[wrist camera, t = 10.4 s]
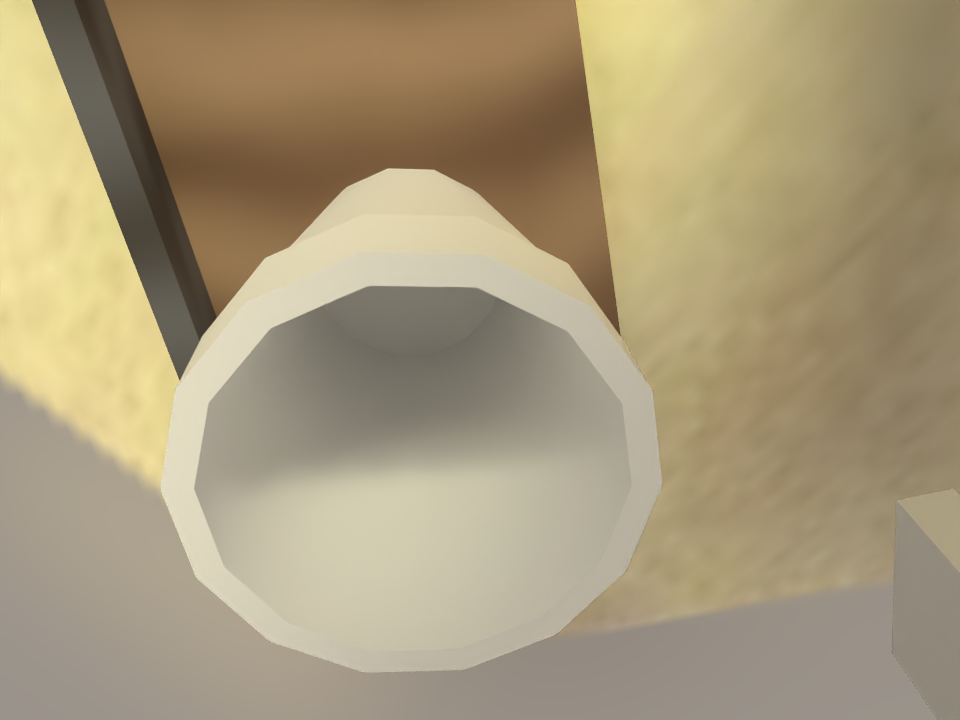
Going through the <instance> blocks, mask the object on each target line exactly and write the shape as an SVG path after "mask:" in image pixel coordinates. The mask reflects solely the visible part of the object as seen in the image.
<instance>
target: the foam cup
mask: <svg viewBox="0 0 960 720" xmlns="http://www.w3.org/2000/svg"><path fill="white" fill-rule="evenodd" d="M661 487H662V476H661V467H660V457H659V447H658V438H657V428H656V418H655V409H654V399H653V391H652V389H651V387H650V386H649V384H648V382H647V380H646V379H645V377H644V375H643V373H642V372H641V370H640V368H639V367H638V365H637V363H636V361H635V360H634V358H633V356H632V354H631V353H630V351H629V349H628V348H627V346H626V344H625V342H624V341H623V339H622V338H621V336H620V335H619V334H618V332H617V331H616V329H615V328H614V327H613V325H612V324H611V322H610V321H609V320H608V318H607V317H606V315H605V314H604V313H603V311H602V310H601V309H600V307H599V306H598V304H597V303H596V302H595V300H594V299H593V297H592V296H591V295H590V293H589V292H588V290H587V289H586V288H585V286H584V285H583V284H582V282H581V281H580V279H579V278H578V277H577V275H576V274H575V272H574V271H573V270H572V268H571V267H570V265H569V264H568V263H566V262H564V261H562V260H560V259H558V258H556V257H554V256H552V255H550V254H548V253H546V252H544V251H542V250H540V249H538V248H537V247H535V246H534V245H533V244H532V243H531V242H530V241H529V240H528V239H527V238H526V237H524V236H523V235H522V234H521V233H520V232H519V231H518V230H517V229H516V228H515V227H514V226H513V225H512V224H510V223H509V222H508V221H507V220H506V219H505V218H504V217H503V216H502V215H501V214H500V213H499V212H498V211H496V210H495V209H494V208H493V207H492V206H491V205H490V204H489V203H488V202H487V201H486V200H485V199H483V198H482V197H481V196H480V195H479V194H478V193H477V192H475V191H474V190H472V189H470V188H468V187H467V186H465V185H463V184H461V183H459V182H457V181H455V180H453V179H451V178H449V177H447V176H445V175H443V174H441V173H439V172H437V171H435V170H427V169H391V168H388V169H386V170H383V171H381V172H379V173H377V174H374V175H372V176H370V177H368V178H366V179H363V180H361V181H359V182H357V183H354V184H352V185H350V186H348V187H346V188H345V189H344V190H343V191H342V192H341V193H340V194H339V195H338V196H337V197H336V198H335V199H334V200H333V201H332V202H331V203H330V205H329V206H328V207H327V208H326V209H325V210H324V211H323V212H322V213H321V214H320V215H319V216H318V217H317V218H316V219H315V221H314V222H313V223H312V224H311V225H310V226H309V227H308V228H307V229H306V230H305V231H304V232H303V233H302V234H301V235H300V237H299V238H298V239H297V240H296V241H295V242H294V243H293V244H292V245H291V246H290V247H289V248H286V249H284V250H282V251H280V252H277V253H275V254H273V255H271V256H268V257H266V258H265V259H264V260H263V261H262V263H261V264H260V265H259V266H258V268H257V269H256V270H255V271H254V272H253V274H252V275H251V276H250V277H249V279H248V280H247V281H246V282H245V284H244V285H243V286H242V287H241V289H240V290H239V291H238V292H237V294H236V295H235V296H234V297H233V299H232V300H231V301H230V302H229V304H228V305H227V306H226V307H225V309H224V310H223V311H222V312H221V313H220V315H219V316H218V317H217V318H216V320H215V321H214V322H213V323H212V325H211V326H210V327H209V328H208V330H207V331H206V332H205V333H204V335H203V336H202V338H201V340H200V342H199V344H198V346H197V348H196V350H195V352H194V354H193V356H192V358H191V360H190V362H189V363H188V365H187V367H186V369H185V371H184V373H183V375H182V377H181V379H180V381H179V383H178V385H177V387H176V389H175V396H174V402H173V409H172V415H171V422H170V428H169V435H168V441H167V448H166V455H165V461H164V468H163V474H162V481H161V487H160V489H161V492H162V494H163V497H164V499H165V502H166V504H167V507H168V509H169V512H170V514H171V517H172V519H173V521H174V524H175V526H176V529H177V531H178V534H179V536H180V539H181V541H182V543H183V546H184V549H185V551H186V554H187V556H188V558H189V561H190V563H191V566H192V568H193V571H194V573H195V576H196V578H197V579H198V580H199V581H201V582H202V583H203V584H204V585H205V586H207V588H209V589H210V590H211V591H212V592H213V593H214V594H216V595H217V596H218V597H219V598H220V599H221V600H223V601H224V602H225V603H226V604H227V605H228V606H230V607H231V608H232V609H233V610H234V611H235V612H236V613H238V614H239V615H240V616H241V617H242V618H243V619H245V620H246V621H247V622H248V623H249V624H250V625H251V626H252V627H254V628H255V629H256V630H257V631H258V632H259V633H261V634H262V635H263V636H264V637H265V638H266V639H268V640H269V641H270V642H273V643H276V644H279V645H282V646H285V647H288V648H291V649H294V650H297V651H300V652H303V653H306V654H309V655H312V656H315V657H318V658H321V659H324V660H327V661H330V662H333V663H336V664H339V665H342V666H345V667H348V668H351V669H354V670H357V671H360V672H363V673H376V672H377V673H378V672H413V671H446V670H447V671H449V670H466V669H468V668H471V667H474V666H476V665H479V664H481V663H484V662H487V661H489V660H492V659H494V658H497V657H499V656H502V655H505V654H507V653H510V652H512V651H515V650H518V649H520V648H523V647H525V646H528V645H531V644H533V643H536V642H538V641H541V640H544V639H546V638H549V637H551V636H554V635H556V634H557V633H558V632H559V631H561V630H562V629H563V628H564V627H565V626H566V625H567V624H568V623H569V622H570V621H572V620H573V619H574V618H575V617H576V616H577V615H578V614H579V613H580V612H581V611H583V610H584V609H585V608H586V607H587V606H588V605H589V604H590V603H591V602H592V601H594V600H595V599H596V598H597V597H598V596H599V595H600V594H601V593H602V592H603V591H605V590H606V589H607V588H608V587H609V586H610V585H611V584H612V583H613V582H614V581H616V580H617V579H618V578H619V577H620V576H621V575H622V574H623V573H624V572H625V571H626V570H627V568H628V566H629V563H630V561H631V558H632V556H633V554H634V551H635V549H636V547H637V544H638V542H639V540H640V537H641V535H642V532H643V530H644V528H645V525H646V523H647V521H648V518H649V516H650V514H651V511H652V509H653V506H654V504H655V502H656V499H657V497H658V495H659V492H660V490H661Z"/></svg>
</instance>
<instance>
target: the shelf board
mask: <svg viewBox="0 0 960 720" xmlns="http://www.w3.org/2000/svg"><path fill="white" fill-rule="evenodd" d="M32 2H33V4H34V7H35V9H36V12H37V15H38V17H39V20H40V22H41V25H42V27H43V30H44V33H45V35H46V38H47V40H48V43H49V46H50V48H51V51H52V53H53V56H54V58H55V61H56V64H57V66H58V69H59V71H60V74H61V76H62V79H63V82H64V84H65V87H66V89H67V92H68V94H69V97H70V100H71V102H72V105H73V107H74V110H75V112H76V115H77V118H78V120H79V123H80V125H81V128H82V130H83V133H84V136H85V138H86V141H87V143H88V146H89V148H90V151H91V154H92V156H93V159H94V161H95V164H96V166H97V169H98V172H99V174H100V177H101V179H102V182H103V184H104V187H105V190H106V192H107V195H108V197H109V200H110V202H111V205H112V208H113V210H114V213H115V215H116V218H117V220H118V223H119V226H120V228H121V231H122V233H123V236H124V239H125V241H126V244H127V246H128V249H129V251H130V254H131V257H132V259H133V262H134V264H135V267H136V269H137V272H138V275H139V277H140V280H141V282H142V285H143V287H144V290H145V293H146V295H147V298H148V300H149V303H150V305H151V308H152V311H153V313H154V316H155V318H156V321H157V323H158V326H159V329H160V331H161V334H162V336H163V339H164V341H165V344H166V347H167V349H168V352H169V354H170V357H171V359H172V362H173V365H174V367H175V370H176V372H177V375H178V377H179V380H180V379H181V377H182V375H183V373H184V371H185V369H186V367H187V365H188V363H189V362H190V360H191V358H192V356H193V354H194V352H195V350H196V348H197V346H198V344H199V342H200V340H201V338H202V336H203V335H204V333H205V332H206V331H207V330H208V328H209V327H210V326H211V325H212V323H213V322H214V321H215V320H216V318H217V317H218V316H219V315H220V313H221V312H222V311H223V310H224V309H225V307H226V306H227V305H228V304H229V302H230V301H231V300H232V299H233V297H234V296H235V295H236V294H237V292H238V291H239V290H240V289H241V287H242V286H243V285H244V284H245V282H246V281H247V280H248V279H249V277H250V276H251V275H252V274H253V272H254V271H255V270H256V269H257V268H258V266H259V265H260V264H261V263H262V261H263V260H264V259H265V258H266V257H268V256H271V255H273V254H275V253H277V252H280V251H282V250H284V249H286V248H289V247H290V246H291V245H292V244H293V243H294V242H295V241H296V240H297V239H298V238H299V237H300V235H301V234H302V233H303V232H304V231H305V230H306V229H307V228H308V227H309V226H310V225H311V224H312V223H313V222H314V221H315V219H316V218H317V217H318V216H319V215H320V214H321V213H322V212H323V211H324V210H325V209H326V208H327V207H328V206H329V205H330V203H331V202H332V201H333V200H334V199H335V198H336V197H337V196H338V195H339V194H340V193H341V192H342V191H343V190H344V189H345V188H346V187H348V186H350V185H352V184H354V183H357V182H359V181H361V180H363V179H366V178H368V177H370V176H372V175H374V174H377V173H379V172H381V171H383V170H386V169H388V168H391V169H427V170H435V171H437V172H439V173H441V174H443V175H445V176H447V177H449V178H451V179H453V180H455V181H457V182H459V183H461V184H463V185H465V186H467V187H468V188H470V189H472V190H474V191H475V192H477V193H478V194H479V195H480V196H481V197H482V198H483V199H485V200H486V201H487V202H488V203H489V204H490V205H491V206H492V207H493V208H494V209H495V210H496V211H498V212H499V213H500V214H501V215H502V216H503V217H504V218H505V219H506V220H507V221H508V222H509V223H510V224H512V225H513V226H514V227H515V228H516V229H517V230H518V231H519V232H520V233H521V234H522V235H523V236H524V237H526V238H527V239H528V240H529V241H530V242H531V243H532V244H533V245H534V246H535V247H537V248H538V249H540V250H542V251H544V252H546V253H548V254H550V255H552V256H554V257H556V258H558V259H560V260H562V261H564V262H566V263H568V264H569V265H570V267H571V268H572V270H573V271H574V272H575V274H576V275H577V277H578V278H579V279H580V281H581V282H582V284H583V285H584V286H585V288H586V289H587V290H588V292H589V293H590V295H591V296H592V297H593V299H594V300H595V302H596V303H597V304H598V306H599V307H600V309H601V310H602V311H603V313H604V314H605V315H606V317H607V318H608V320H609V321H610V322H611V324H612V325H613V327H614V328H615V329H616V331H617V332H618V334H619V335H620V329H619V321H618V314H617V306H616V299H615V292H614V284H613V277H612V269H611V262H610V255H609V247H608V240H607V232H606V225H605V217H604V210H603V203H602V195H601V188H600V180H599V173H598V165H597V158H596V151H595V143H594V136H593V128H592V121H591V114H590V106H589V99H588V91H587V84H586V76H585V69H584V62H583V54H582V47H581V39H580V32H579V24H578V17H577V10H576V2H575V0H32Z"/></svg>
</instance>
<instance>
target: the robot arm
mask: <svg viewBox="0 0 960 720" xmlns="http://www.w3.org/2000/svg"><path fill="white" fill-rule="evenodd" d="M893 601H894V602H893V631H892V632H893V633H892V653H893V655H894V656H895V657H896V659H897V660H898V662H899V663H900V665H901V666H902V668H903V669H904V671H905V672H906V674H907V675H908V677H909V678H910V679H911V681H912V683H913V684H914V685H915V687H916V688H917V690H918V691H919V692H920V694H921V695H922V697H923V699H924V700H925V701H926V703H927V705H928V706H929V707H930V709H931V710H932V712H933V713H934V715H935V716H936V718H937V719H938V720H960V494H959V493H958V492H957V491H956V490H955V489H954V488H953V489H948V490H943V491H938V492H934V493H929V494H924V495H919V496H914V497H909V498H905V499H900V500H896V530H895V564H894V598H893Z"/></svg>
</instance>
